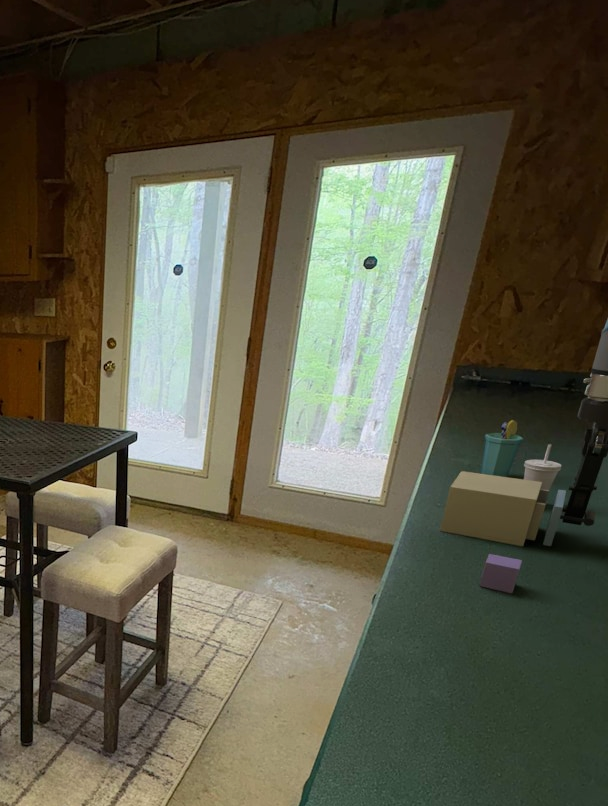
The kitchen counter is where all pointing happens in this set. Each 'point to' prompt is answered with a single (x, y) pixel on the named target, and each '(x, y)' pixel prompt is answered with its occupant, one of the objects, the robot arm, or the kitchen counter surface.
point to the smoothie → (542, 470)
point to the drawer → (553, 516)
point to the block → (500, 573)
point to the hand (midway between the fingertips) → (571, 522)
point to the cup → (501, 450)
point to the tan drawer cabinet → (490, 507)
